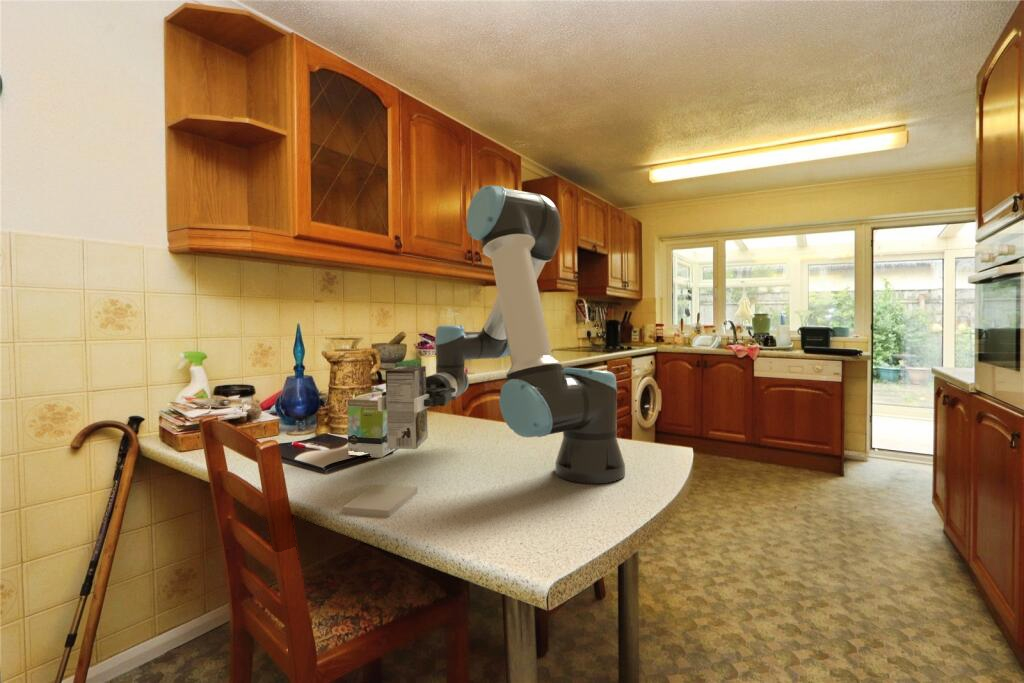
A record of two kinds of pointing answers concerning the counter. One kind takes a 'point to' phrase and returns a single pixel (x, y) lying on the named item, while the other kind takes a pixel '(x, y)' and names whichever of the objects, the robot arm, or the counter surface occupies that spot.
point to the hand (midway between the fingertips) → (397, 405)
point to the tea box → (367, 426)
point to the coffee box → (405, 407)
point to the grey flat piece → (380, 500)
